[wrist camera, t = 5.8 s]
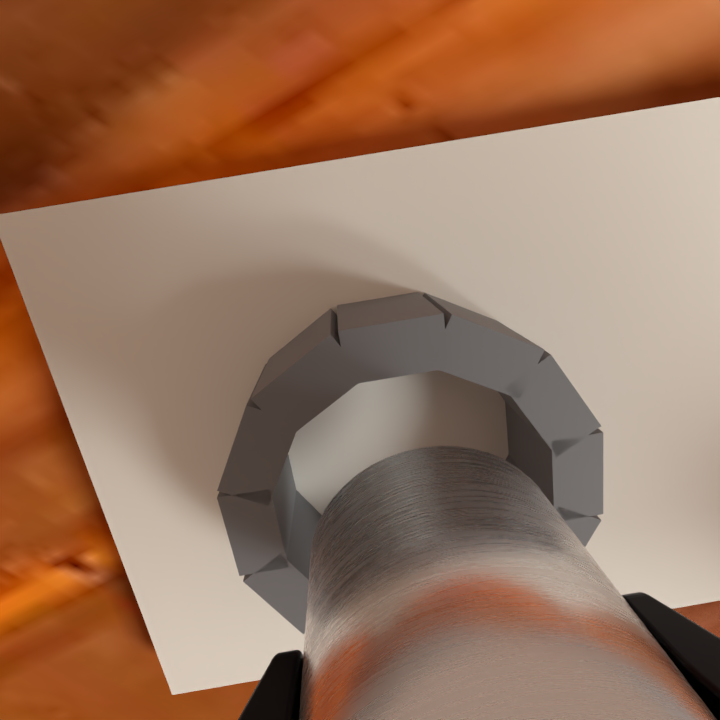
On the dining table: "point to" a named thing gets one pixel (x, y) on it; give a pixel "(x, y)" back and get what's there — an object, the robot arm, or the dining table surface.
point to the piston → (470, 605)
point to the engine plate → (389, 357)
